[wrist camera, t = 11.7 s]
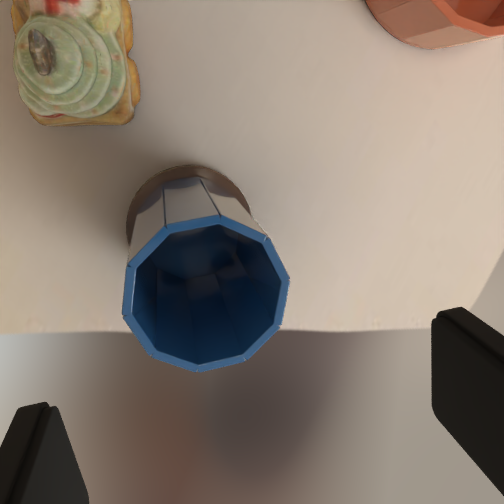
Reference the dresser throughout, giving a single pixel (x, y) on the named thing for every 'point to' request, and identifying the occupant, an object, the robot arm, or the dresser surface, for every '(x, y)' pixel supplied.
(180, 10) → the dresser surface
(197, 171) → the coaster
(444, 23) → the orange bowl
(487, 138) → the dresser surface
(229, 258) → the blue cup
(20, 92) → the cucumber toast
